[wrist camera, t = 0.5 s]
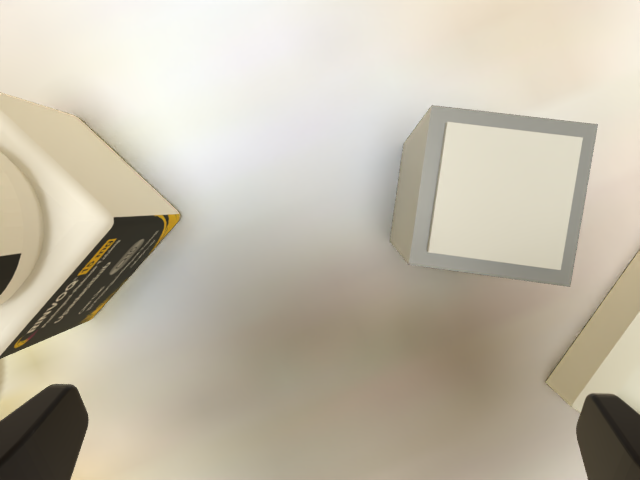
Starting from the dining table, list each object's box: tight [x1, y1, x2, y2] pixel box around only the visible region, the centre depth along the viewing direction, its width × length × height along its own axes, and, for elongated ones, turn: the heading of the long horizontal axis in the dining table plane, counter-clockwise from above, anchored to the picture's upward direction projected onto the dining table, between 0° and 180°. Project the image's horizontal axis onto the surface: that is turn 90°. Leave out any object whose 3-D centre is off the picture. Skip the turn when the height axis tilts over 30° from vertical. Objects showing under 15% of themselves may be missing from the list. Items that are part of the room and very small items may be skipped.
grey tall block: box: [390, 105, 598, 287], centre depth 18 cm, size 4×4×9 cm
